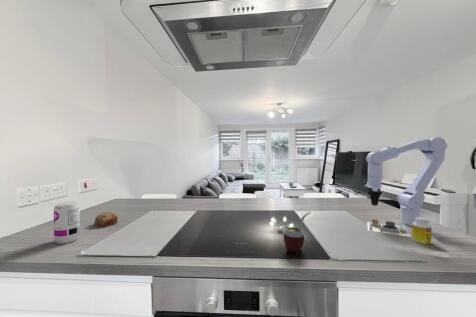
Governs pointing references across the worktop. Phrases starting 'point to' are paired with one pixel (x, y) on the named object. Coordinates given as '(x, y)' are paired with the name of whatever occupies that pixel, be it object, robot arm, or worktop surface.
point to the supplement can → (66, 222)
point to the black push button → (390, 224)
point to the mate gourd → (294, 238)
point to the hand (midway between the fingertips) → (374, 203)
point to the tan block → (374, 222)
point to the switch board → (387, 229)
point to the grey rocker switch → (402, 228)
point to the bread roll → (105, 219)
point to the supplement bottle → (421, 231)
